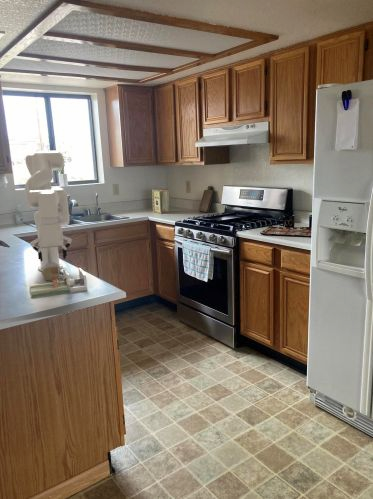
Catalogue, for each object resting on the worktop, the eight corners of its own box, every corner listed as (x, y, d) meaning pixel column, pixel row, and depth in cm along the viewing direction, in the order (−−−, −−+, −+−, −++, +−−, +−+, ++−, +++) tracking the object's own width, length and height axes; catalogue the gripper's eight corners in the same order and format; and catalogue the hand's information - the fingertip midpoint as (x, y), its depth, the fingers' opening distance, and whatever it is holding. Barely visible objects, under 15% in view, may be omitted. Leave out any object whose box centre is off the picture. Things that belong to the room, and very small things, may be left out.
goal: (64, 284, 189) (62, 267, 187) (81, 282, 192) (80, 265, 190) (68, 293, 176) (66, 275, 175) (87, 290, 179) (85, 272, 178)
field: (30, 289, 183) (29, 284, 182) (64, 284, 188) (64, 280, 188) (31, 297, 171) (31, 292, 171) (68, 292, 177) (67, 287, 176)
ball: (74, 277, 185) (74, 285, 186) (65, 278, 184) (65, 286, 184) (75, 279, 182) (76, 287, 182) (66, 280, 180) (67, 289, 181)
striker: (51, 284, 183) (49, 265, 181) (58, 283, 184) (56, 264, 182) (52, 288, 177) (50, 268, 175) (59, 287, 178) (58, 267, 176)
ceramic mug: (42, 282, 194) (41, 266, 192) (44, 277, 202) (43, 262, 200) (65, 280, 196) (64, 265, 194) (67, 276, 204) (66, 261, 202)
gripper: (68, 218, 181) (71, 255, 185) (27, 221, 174) (31, 259, 179) (71, 220, 174) (74, 259, 179) (28, 224, 168) (32, 263, 172)
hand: (52, 259), depth 179 cm, fingers open, 9 cm apart
